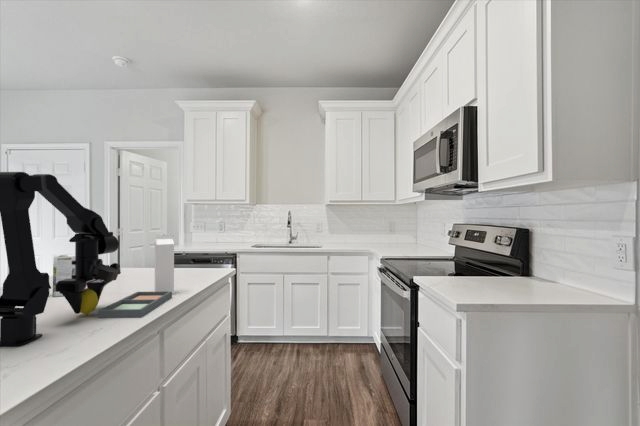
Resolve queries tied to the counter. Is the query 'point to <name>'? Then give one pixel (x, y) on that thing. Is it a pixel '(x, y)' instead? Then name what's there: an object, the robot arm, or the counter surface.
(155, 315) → the counter surface
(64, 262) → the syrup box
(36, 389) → the counter surface
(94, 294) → the lemon
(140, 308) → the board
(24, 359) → the counter surface
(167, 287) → the milk
